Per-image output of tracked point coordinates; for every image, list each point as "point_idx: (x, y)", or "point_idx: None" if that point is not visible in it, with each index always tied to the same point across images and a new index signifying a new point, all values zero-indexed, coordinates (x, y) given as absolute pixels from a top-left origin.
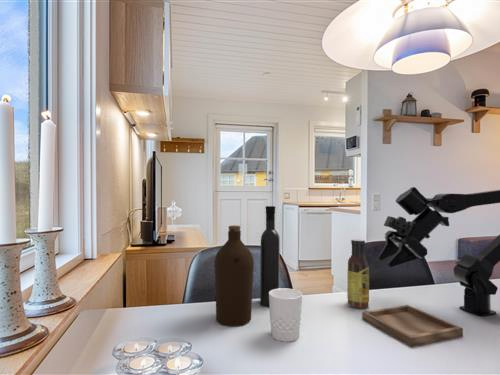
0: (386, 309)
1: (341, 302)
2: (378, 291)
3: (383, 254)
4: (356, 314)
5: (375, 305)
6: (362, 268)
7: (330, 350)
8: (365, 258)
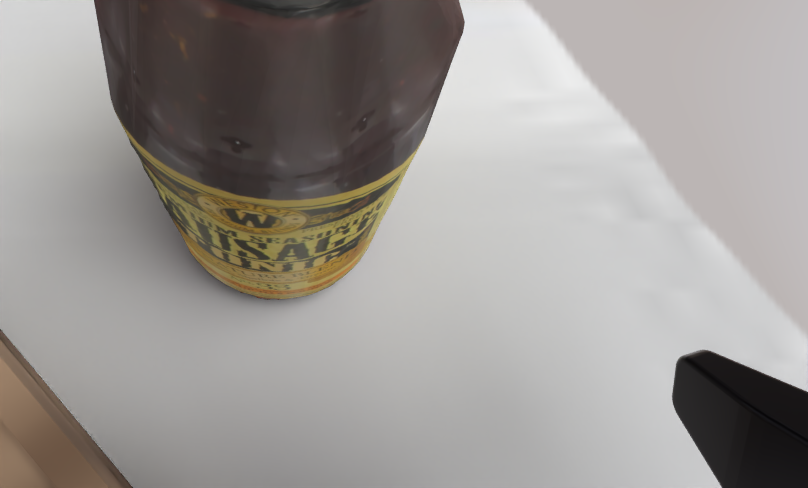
0: (50, 463)
1: None
2: None
3: (776, 469)
4: (47, 210)
5: (350, 362)
6: (118, 98)
7: None
8: (218, 72)
